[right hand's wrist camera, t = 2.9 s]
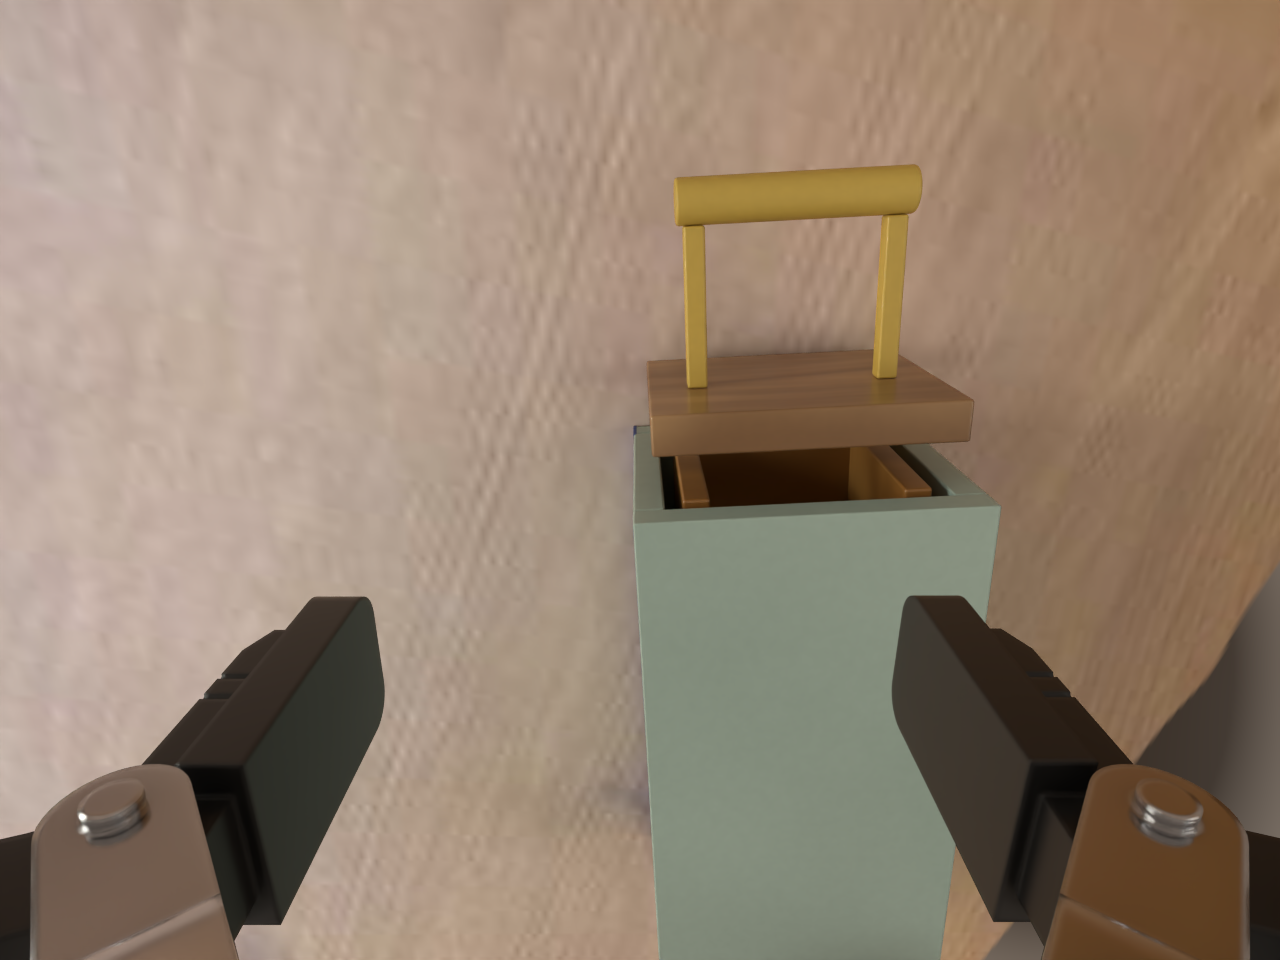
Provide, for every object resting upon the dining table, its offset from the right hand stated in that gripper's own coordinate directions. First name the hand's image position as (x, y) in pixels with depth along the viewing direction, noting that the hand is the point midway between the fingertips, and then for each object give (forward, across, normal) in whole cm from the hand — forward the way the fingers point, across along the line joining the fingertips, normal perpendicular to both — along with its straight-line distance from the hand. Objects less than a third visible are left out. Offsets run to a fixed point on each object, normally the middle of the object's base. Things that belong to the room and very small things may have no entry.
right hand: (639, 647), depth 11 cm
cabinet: (+18, +5, -12) cm, 22 cm away
